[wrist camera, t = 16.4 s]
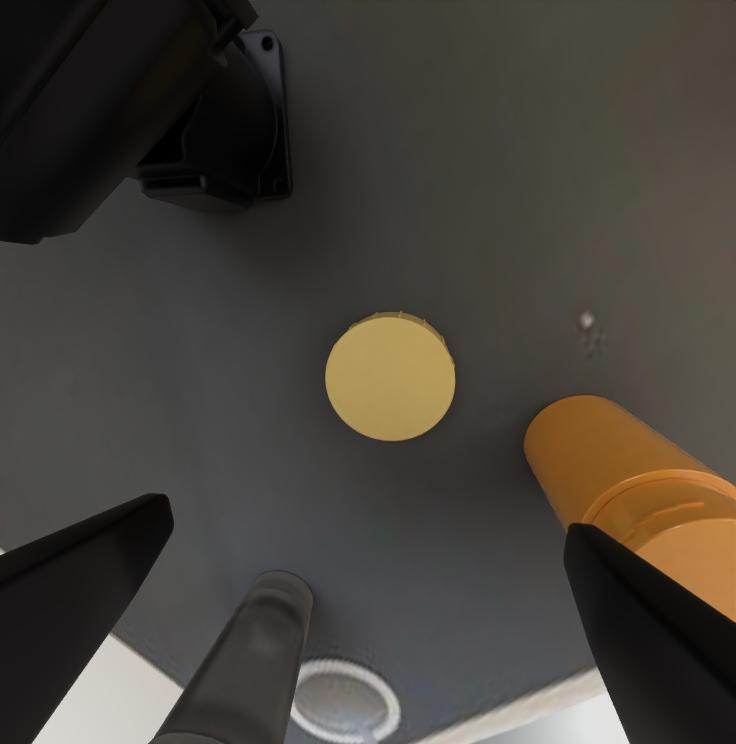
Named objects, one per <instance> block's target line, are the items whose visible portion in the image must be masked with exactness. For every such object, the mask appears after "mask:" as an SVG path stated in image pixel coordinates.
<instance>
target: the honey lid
mask: <svg viewBox="0 0 736 744" xmlns="http://www.w3.org/2000/svg"><path fill="white" fill-rule="evenodd" d="M333 347H334V348H333V350H332V351H331V353H330V356H329V359H328V362H327V366H326V374H325V379H326V388H327V393H328V396H329V399H330V401H331V404H332V406H333V407H334V409H335V411H336V412H337V414H338V415H339V416H340V417H341V419H342V420H343V421H344V422H345V423H346V424H348V425H349V426H350V427H351V428H353V429H354V430H356V431H358V432H359V433H361V434H363V435H366V436H368V437H371V438H374V439H379V440H385V441H400V440H406V439H410V438H413V437H416V436H418V435H421V434H423V433H424V432H426V431H428V430H429V429H431V428H432V427H433V426H434V425H436V424H437V423H438V422H439V421H440V420H441V419H442V417H443V416H444V414H445V413H446V412H447V410H448V408H449V406H450V404H451V401H452V399H453V395H454V392H455V371H454V367H455V364H454V362H453V359H452V357H450V354H449V351H448V348H447V346H446V344H445V341H444V338H443V336H442V335H441V336H440V335H439V333H438V332H437V331H436V330H435V329H434V328H433V327H432V326H431V325H429V324H428V323H427V322H425V319H423V320H422V319H420V318H418V317H416V316H413V315H410V314H407V313H402V311H400V312H382V313H378V312H376V313H375V314H374V315H371V316H369V317H366V318H364V319H363V320H361V321H359V322H358V323H357V322H355V323H354V324H353V325H352V326H351V327H349V330H348V331H347V332H346V333H345V334H344V335H343V336H342V337H341V338H340V339H339V340H338V342H337V343H336V344H335V345H334V346H333Z"/></svg>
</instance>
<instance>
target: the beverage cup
mask: <svg viewBox="0 0 736 744" xmlns="http://www.w3.org/2000/svg"><path fill="white" fill-rule="evenodd" d="M312 606H313V595H312V593H311V591H310V588H309V587H308V586H307V585H306V584H305V583H304V581H302V580H301V579H299V578H298V577H297V576H295V575H292V574H290V573H287V572H282V571H270V572H266V573H264V574H262V575H260V576H259V577H258V578H257V580H256V581H255V582H254V584H253V586H252V588H251V589H250V590H249V592H248V593H247V595H246V596H245V597H244V598H243V599H242V601H241V602H240V604H239V605H238V607H237V608H236V610H235V612H234V613H233V615H232V616H231V618H230V619H229V621H228V623H227V624H226V626H225V627H224V629H223V630H222V632H221V633H220V635H219V637H218V638H217V640H216V641H215V643H214V644H213V646H212V647H211V649H210V651H209V652H208V654H207V655H206V657H205V658H204V660H203V662H202V663H201V665H200V666H199V668H198V669H197V671H196V672H195V674H194V676H193V677H192V679H191V680H190V682H189V683H188V685H187V686H186V688H185V690H184V691H183V693H182V694H181V696H180V697H179V699H178V701H177V702H176V704H175V705H174V707H173V708H172V710H171V712H170V713H169V715H168V716H167V718H166V719H165V721H164V723H163V724H162V726H161V727H160V729H159V730H158V732H157V733H156V735H155V736H154V738H153V739H152V740H151V741H150V742H149V743H148V744H283V743H284V739H285V734H286V730H287V725H288V721H289V716H290V712H291V707H292V703H293V698H294V694H295V689H296V684H297V680H298V675H299V671H300V666H301V662H302V657H303V653H304V648H305V644H306V639H307V634H308V630H309V621H310V616H311V609H312Z"/></svg>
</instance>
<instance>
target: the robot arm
mask: <svg viewBox="0 0 736 744" xmlns="http://www.w3.org/2000/svg"><path fill="white" fill-rule="evenodd" d="M257 18H258V15H257V13H256V12H255V10H254V9H253V7H252V6H251V4H250V3H249V1H248V0H0V241H4V242H13V243H22V244H31V245H34V244H38V243H39V242H40V241H41V240H42V239H43V238H44V237H54V236H58V235H63V234H67V233H71V232H76V231H77V230H78V229H79V227H80V226H81V225H82V224H83V223H84V222H85V221H86V220H87V219H88V218H89V217H90V215H91V214H92V213H93V212H94V211H95V210H96V209H97V208H98V207H99V206H100V205H101V203H102V202H103V201H104V200H105V199H106V198H107V197H108V196H109V195H110V194H111V193H112V191H113V190H114V189H115V188H116V187H117V186H118V185H119V184H120V183H121V182H122V181H123V179H124V178H125V177H129V178H132V179H136V180H139V181H140V186H141V191H142V192H143V193H144V194H145V195H146V196H147V197H149V198H152V199H156V200H160V201H164V202H168V203H172V204H176V205H180V206H184V207H188V208H192V209H196V210H200V211H222V210H240V209H249V208H250V207H251V206H252V205H253V201H254V200H271V199H285V198H288V197H289V196H290V195H291V193H292V191H293V182H292V170H291V157H290V145H289V132H288V120H287V107H286V95H285V82H284V70H283V57H282V47H281V43H280V41H279V40H278V38H277V36H276V35H275V33H274V32H272V31H271V30H258V31H251V32H243V33H239V32H240V31H241V30H242V29H243V28H244V29H245V30H247V29H248V28H249V27H250V26H251V25H252V24H253V23H254V22H255V20H256V19H257ZM269 42H272V43H273V47H272V49H271V50H269V51H266V50H265V49H266V45H267V44H268V43H269ZM282 181H283V182H284V183H285V189H284V190H283V191H281V192H280V191H279V190H278V185H279V183H280V182H282ZM173 528H174V520H173V515H172V511H171V506H170V502H169V498H168V497H167V496H166V495H165V494H157V493H148V494H145V495H143V496H140V497H138V498H136V499H133V500H131V501H128V502H126V503H124V504H121V505H119V506H117V507H114V508H112V509H109V510H107V511H105V512H102V513H100V514H98V515H95V516H93V517H90V518H88V519H86V520H83V521H81V522H78V523H76V524H74V525H71V526H69V527H67V528H64V529H62V530H59V531H57V532H55V533H52V534H50V535H48V536H45V537H43V538H40V539H38V540H36V541H33V542H31V543H28V544H26V545H24V546H21V547H19V548H17V549H14V550H12V551H9V552H7V553H5V554H2V555H0V744H32V742H33V741H34V739H35V738H36V737H37V735H38V734H39V732H40V731H41V730H42V728H43V727H44V725H45V724H46V722H47V721H48V720H49V718H50V717H51V715H52V714H53V712H54V711H55V709H56V708H57V707H58V705H59V704H60V702H61V701H62V700H63V698H64V697H65V695H66V694H67V692H68V691H69V690H70V688H71V687H72V685H73V684H74V683H75V681H76V680H77V678H78V676H79V675H80V674H81V673H82V671H83V670H84V668H85V667H86V665H87V664H88V663H89V661H90V660H91V658H92V657H93V655H94V654H95V653H96V651H97V650H98V648H99V647H100V645H101V644H102V642H103V641H104V640H105V638H106V637H107V635H108V634H109V633H110V631H111V630H112V628H113V627H114V625H115V624H116V623H117V621H118V620H119V618H120V617H121V616H122V614H123V613H124V611H125V610H126V608H127V607H128V605H129V604H130V602H131V601H132V599H133V598H134V596H135V595H136V593H137V591H138V590H139V588H140V587H141V585H142V583H143V581H144V580H145V578H146V576H147V575H148V573H149V571H150V570H151V568H152V566H153V565H154V563H155V561H156V559H157V558H158V556H159V554H160V553H161V551H162V549H163V548H164V546H165V544H166V542H167V541H168V539H169V537H170V536H171V534H172V531H173ZM564 566H565V570H566V573H567V576H568V579H569V582H570V586H571V589H572V592H573V595H574V598H575V601H576V605H577V608H578V611H579V614H580V617H581V621H582V624H583V627H584V630H585V633H586V637H587V640H588V643H589V646H590V648H591V651H592V654H593V657H594V659H595V662H596V664H597V667H598V669H599V671H600V674H601V676H602V679H603V681H604V683H605V686H606V688H607V691H608V693H609V695H610V698H611V700H612V702H613V705H614V707H615V709H616V712H617V714H618V716H619V719H620V721H621V724H622V726H623V729H624V731H625V733H626V736H627V738H628V741H629V742H630V744H736V623H735V622H734V621H733V620H731V619H730V618H728V617H727V616H725V615H724V614H722V613H721V612H719V611H718V610H717V609H715V608H714V607H712V606H711V605H709V604H708V603H706V602H705V601H704V600H702V599H701V598H699V597H698V596H696V595H695V594H693V593H692V592H691V591H689V590H688V589H686V588H685V587H683V586H682V585H680V584H679V583H677V582H676V581H675V580H673V579H672V578H670V577H669V576H667V575H666V574H664V573H663V572H662V571H660V570H659V569H657V568H656V567H654V566H653V565H651V564H650V563H649V562H647V561H646V560H644V559H643V558H641V557H640V556H638V555H637V554H636V553H634V552H633V551H631V550H630V549H628V548H627V547H625V546H624V545H622V544H621V543H620V542H618V541H617V540H615V539H614V538H612V537H611V536H609V535H608V534H607V533H605V532H604V531H602V530H601V529H599V528H598V527H596V526H595V525H593V524H587V523H571V524H570V525H569V527H568V531H567V537H566V543H565V549H564Z"/></svg>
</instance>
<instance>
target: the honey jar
mask: <svg viewBox="0 0 736 744" xmlns="http://www.w3.org/2000/svg"><path fill="white" fill-rule="evenodd" d="M524 453H525V457H526V460H527V462H528V464H529V466H530V468H531V470H532V472H533V474H534V475H535V477H536V479H537V481H538V483H539V485H540V486H541V488H542V490H543V492H544V494H545V495H546V497H547V499H548V501H549V503H550V505H551V506H552V508H553V510H554V512H555V514H556V516H557V517H558V519H559V521H560V523H561V525H562V526H563V528H564V530H565V532H566V534H567V531H568V527H569V525H570V524H571V523H587V524H593V525H595V526H596V527H598V528H599V529H601V530H602V531H604V532H605V533H607V534H608V535H609V536H611V537H612V538H614V539H615V540H617V541H618V542H620V543H621V544H622V545H624V546H625V547H627V548H628V549H630V550H631V551H633V552H634V553H636V554H637V555H638V556H640V557H641V558H643V559H644V560H646V561H647V562H649V563H650V564H651V565H653V566H654V567H656V568H657V569H659V570H660V571H662V572H663V573H664V574H666V575H667V576H669V577H670V578H672V579H673V580H675V581H676V582H677V583H679V584H680V585H682V586H683V587H685V588H686V589H688V590H689V591H691V592H692V593H693V594H695V595H696V596H698V597H699V598H701V599H702V600H704V601H705V602H706V603H708V604H709V605H711V606H712V607H714V608H715V609H717V610H718V611H719V612H721V613H722V614H724V615H725V616H727V617H728V618H730V619H731V620H733V621H734V622H735V623H736V487H735V486H734V485H733V484H731V483H730V482H728V481H727V480H725V479H724V478H723V477H721V476H720V475H718V474H717V473H715V472H714V471H713V470H711V469H710V468H708V467H707V466H705V465H704V464H703V463H701V462H700V461H698V460H697V459H695V458H694V457H693V456H691V455H690V454H688V453H687V452H685V451H684V450H683V449H681V448H680V447H678V446H677V445H675V444H674V443H672V442H671V441H670V440H668V439H667V438H665V437H664V436H662V435H661V434H660V433H658V432H657V431H655V430H654V429H652V428H651V427H650V426H648V425H647V424H645V423H644V422H642V421H641V420H640V419H638V418H637V417H635V416H634V415H632V414H631V413H630V412H628V411H627V410H625V409H624V408H622V407H621V406H619V405H618V404H616V403H615V402H613V401H611V400H609V399H606V398H603V397H598V396H592V395H578V396H571V397H568V398H564V399H561V400H559V401H556V402H554V403H552V404H550V405H549V406H547V407H546V408H544V409H543V410H542V411H541V412H540V413H539V414H538V415H537V416H536V417H535V418H534V419H533V421H532V422H531V424H530V425H529V427H528V429H527V432H526V435H525V439H524Z"/></svg>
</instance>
